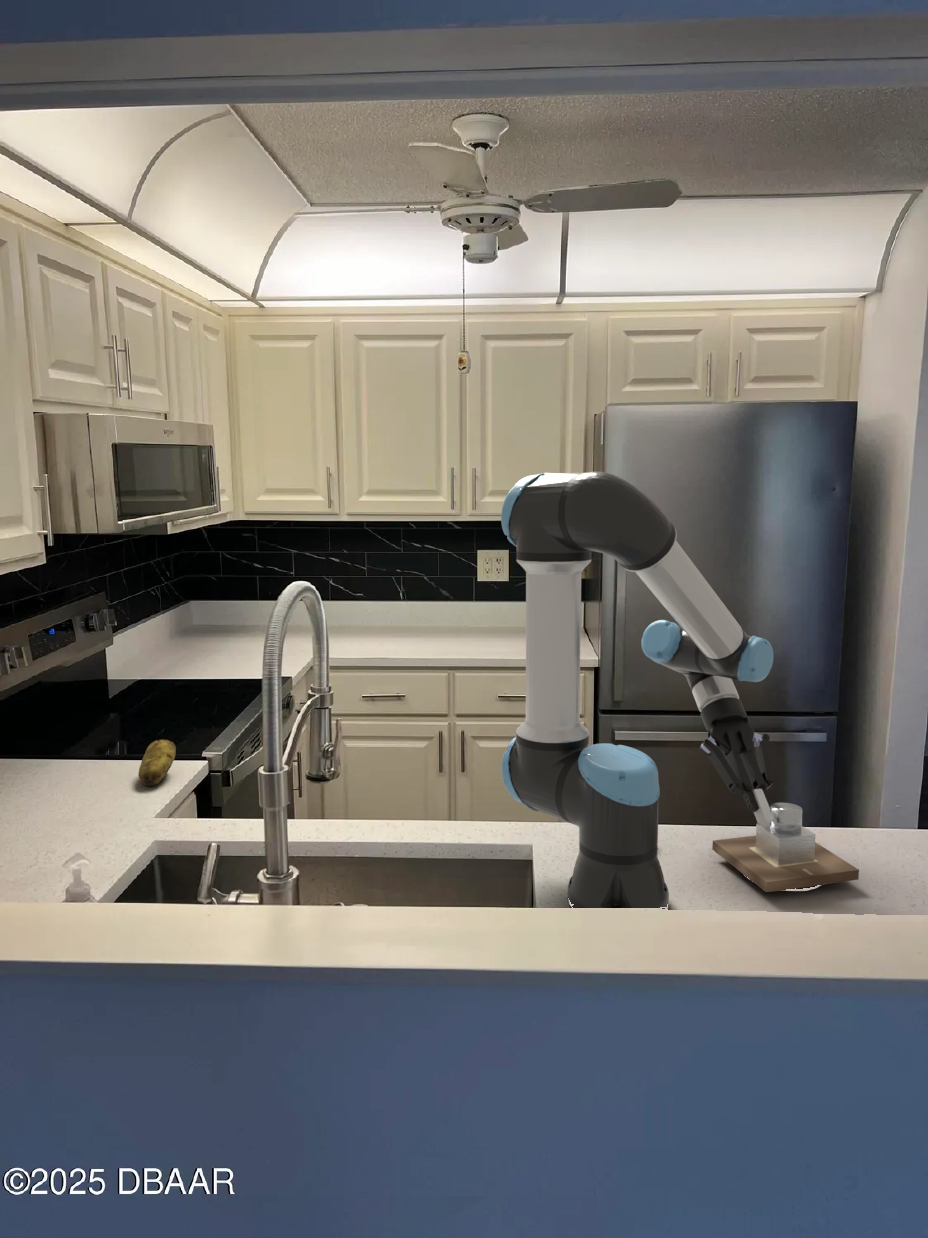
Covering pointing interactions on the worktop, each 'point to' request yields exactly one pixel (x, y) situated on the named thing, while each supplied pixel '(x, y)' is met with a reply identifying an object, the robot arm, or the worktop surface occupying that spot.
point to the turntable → (786, 876)
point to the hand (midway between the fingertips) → (769, 828)
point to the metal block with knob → (785, 836)
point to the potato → (156, 762)
